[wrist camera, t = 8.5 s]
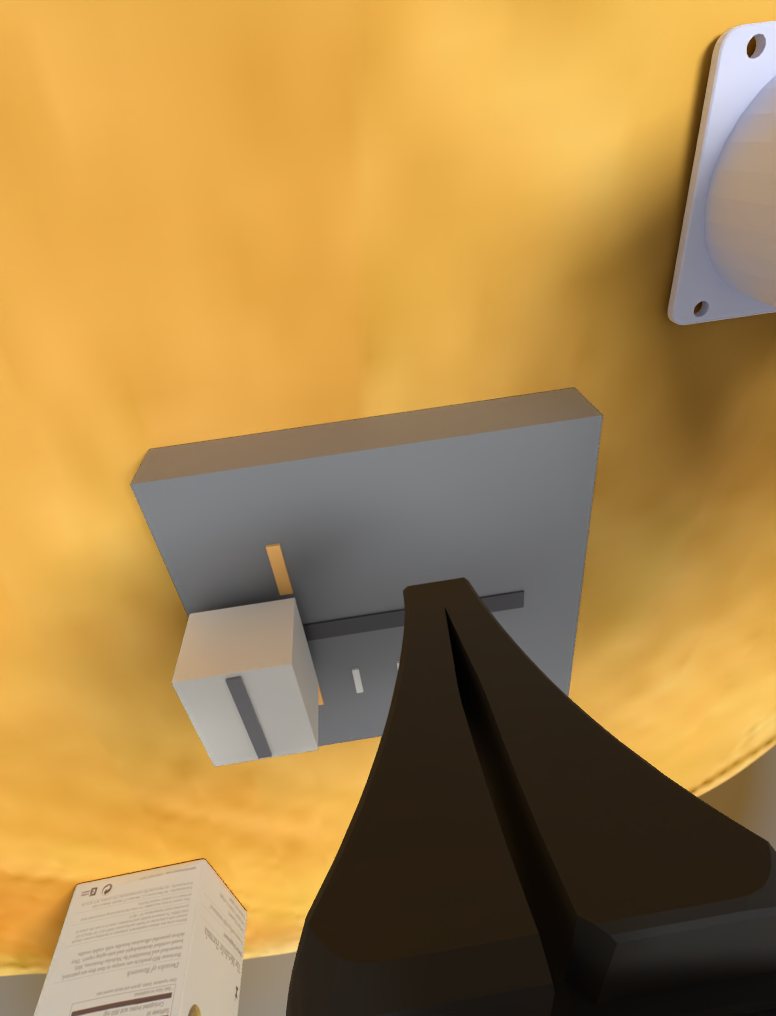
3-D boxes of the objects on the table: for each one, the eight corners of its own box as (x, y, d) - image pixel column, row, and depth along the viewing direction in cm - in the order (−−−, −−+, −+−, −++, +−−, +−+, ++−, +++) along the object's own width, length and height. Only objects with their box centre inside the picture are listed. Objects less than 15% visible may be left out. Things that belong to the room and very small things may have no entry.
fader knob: (295, 592, 21) (291, 666, 18) (318, 676, 24) (318, 752, 21) (191, 608, 21) (170, 685, 18) (226, 690, 24) (214, 769, 21)
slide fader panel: (574, 387, 21) (604, 416, 19) (549, 666, 30) (568, 708, 28) (149, 449, 20) (128, 486, 18) (254, 713, 29) (249, 759, 27)
